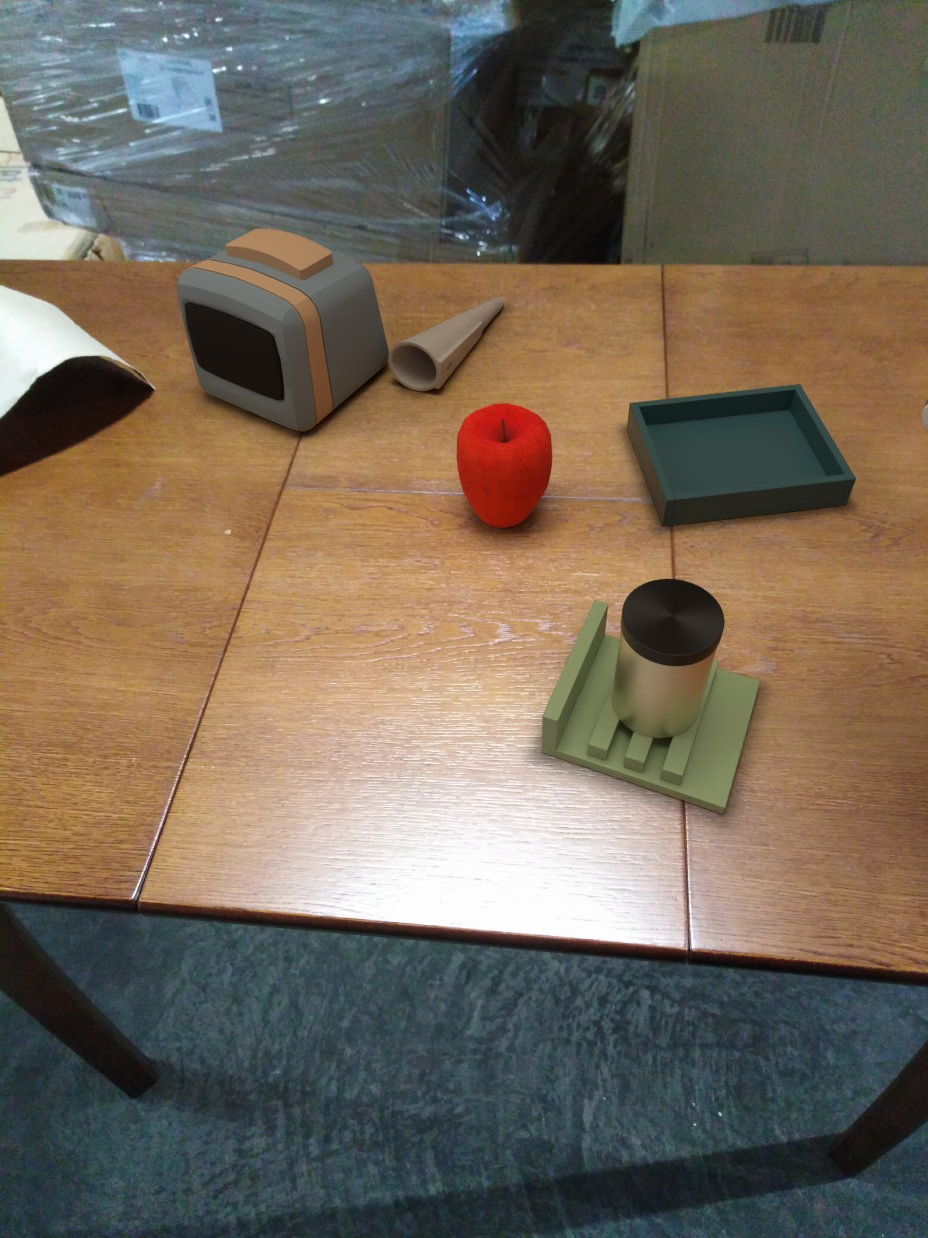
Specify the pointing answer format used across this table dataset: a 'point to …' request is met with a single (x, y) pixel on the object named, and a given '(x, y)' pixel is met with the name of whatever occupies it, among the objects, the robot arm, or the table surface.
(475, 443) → the apple
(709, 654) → the travel mug
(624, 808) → the table surface
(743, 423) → the tray
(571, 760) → the drying rack
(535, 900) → the table surface
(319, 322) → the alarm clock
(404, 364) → the long tapered cone
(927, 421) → the robot arm
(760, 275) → the table surface
